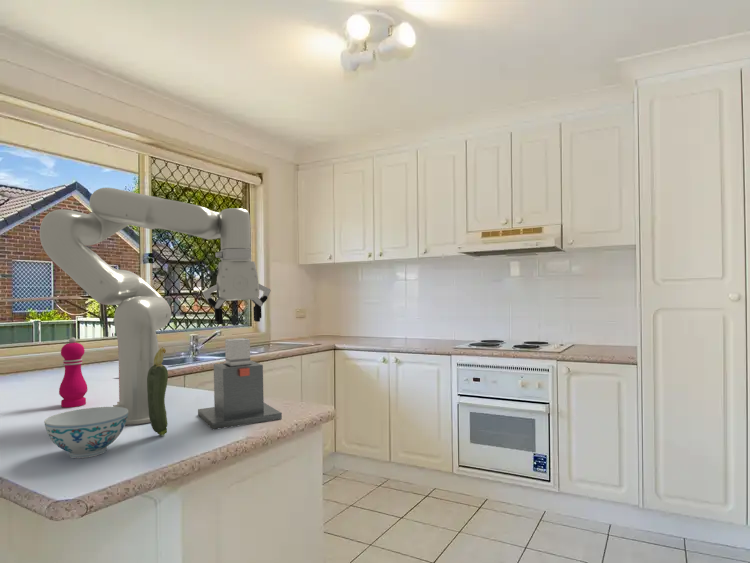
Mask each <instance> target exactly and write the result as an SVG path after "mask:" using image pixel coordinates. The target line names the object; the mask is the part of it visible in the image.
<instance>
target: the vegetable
mask: <svg viewBox="0 0 750 563" xmlns="http://www.w3.org/2000/svg"><path fill="white" fill-rule="evenodd" d="M164 354H166V349H165V347H161V348H159V350H158V353H156V355H155V358H154V365H153V366H152V367H151V368H150V369H149V371H148V376H147V393H148V408H149V418H150V422H149V423H150V425H151V429H152V430H153V431H154V432H155V433H157V435H158V436H165V435H166V434H167V433H168V428H167V427H168V418H167V415H166V414H167V410H166V403H165V401H166V400H165V398H166V397H165V396H166V391H167V386H168V379H169V373H168V372H169V371H168V369H167V367H166V366H165V365H164V364H162V363H164Z"/></svg>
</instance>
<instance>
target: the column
mask: <svg viewBox="0 0 750 563" xmlns="http://www.w3.org/2000/svg"><path fill="white" fill-rule="evenodd" d="M250 343H251V339H249V338H246V337H239V338H226V339H224V347H225V348H224V349H225V358H224V359H225V363H226V364H225V365H226V366H228V367H235V366H246V365H251V364H250V361H251V344H250Z"/></svg>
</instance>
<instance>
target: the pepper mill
mask: <svg viewBox="0 0 750 563" xmlns="http://www.w3.org/2000/svg"><path fill="white" fill-rule="evenodd" d="M76 341H77V339H76V337H75V336H74V337H70V338H69V340H68V342H69V343H66V344H64V345H63V346H62V347H61V349H60V355H61V357H62V358H63V360H62V363H63V364H62V365H64V375H63V379H62V380H61V382H60V385H59V388H58V394H59V396H60V397H61V398H62V399H61V401H60V404H61V405H60V406H61V408H77V407H81V406H85V405H86V403H87V398H86V397H85V395H86V394H87V392H88V389H89V388H88V385H87V382H86V380H85V378H84V376H83V373H82V364H83V356H84V354H85V346H84V345H83V344H81V343H79V342H76Z"/></svg>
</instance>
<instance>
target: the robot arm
mask: <svg viewBox="0 0 750 563" xmlns="http://www.w3.org/2000/svg"><path fill="white" fill-rule="evenodd" d="M89 207H90V209H91V212H89V213H84V212H81V211H76V210H72V209H63V208H62V209H61V208H60V209H55V210H52V211H50V212H48V213H47V214H46V215H45V216H44V217H43V219H42V221H41V224H40V225H39V226H40V227H39V240H40V244H41V245H42V246H41V247H42V249H43V250H44V252H45V253H46V255H47V256H48V258H49V259H50V260H51V261H53V262H54V264H55V265H56V266H58V267H59V268H60V269H61V270H62V271H63V272H64V273H65V274H66V275H68V276H69V277H70V278H71V279H72V280H73V281H74V282H75V283H76V285H78V286H79V287H80V288H81V289H82V290H83V291H84V292H86V293H87V294H88V295H89V296H90V297H91V298H92V299H93V300H94V301H95V302H97V303H99V304H101V305H104V306H105V305H106V306H117V307H116V309H115V312H114V314H113V315H114V316H113V320H114V322H113V324H114V328H115V333H116V339H117V350H118V351H117V352H118V353H117V355H118V358H117V359H118V396H119V397H118V398H119V401H117V402H116V403H117V404H113V406H112V407H122V408H126V409H128V417H127V421H126V424H125V426H130V425H131V426H132V425H133V426H134V425H142V424H148V423H151V422H150V418H149V408H148V393H147V376H148V371H149V369H150V368H151V367H152V366H153V365H154V358H155V355H156V353H158V350H160V348H159V346H160V345H159V340H158V336H157V331H158V330H161V329H163V328H164V327H166V326H167V325H169V323H170V321H171V318H172V309H171V307H170V304H169V303H168V301H167V300H166V299H165V298H164V297H163V296H162V295H161V294H160V293H159V292H157V290H155V288H153V287H152V286H151V285H150V284H148V282H146V281H145V280H144V279H143V278H142V277H141V276H140V275H138V274H136V273H134V272H133V271H130V270H128V269H118V268H114V267H112V266H111V265H110V264H108V263H107V262H106V261H105V260H104V259H102V257H100V256H99V254H97V253H96V252H95V251H93V250H92V249H90V248H89V247H88V246H94V245H97V244H99V243H102V242H103V241H106V239H109V238H110V237H111V236H114V235H115V234H116V233H119V232H120V231H121V230H124V229H125V228H127V227H129V226H133V227H139V228H141V229H142V228H143V229H148V230H156V229H160V230H165V231H166V230H167V231H172V232H176V233H180V234H185V235H190V236H194V237H198V238H201V239H204V240H217V239H220V250H219V251H217V252H215V258H219V259H220V261H219V262H218V265H217V271H216V272H217V275H216V284H215V285H213V286H211V287H209V288H207V289H206V290H204V291H202V295H203V297H204V298H205V300H206V302H207V303H208V304H209V305H210V306H211V307H212V308H213V309H214V321H215V322H216V324H217V325H222V324H223V323H224V321H223V308H222V307H221V306H222V305H223V304H224V302H225V301H244V300H245V301H248V300H251V301H252V303H253V304H254V306H253V307H252V309H253V321H254V322H258V323H259V322H261V319H262V317H263V316H262V306H263V305H264V303H265V302H267V301H268V297H269V295H270V293H271V289H270V288H268V287H267V286H264V285H262V284H260V283H259V276H258V271H257V265H256V262H255V261H253V260H252V239H251V238H252V236H251V216H250V212H249V211H248V210H247V209H245V208H244V209H243V208H238V207H236V208H235V207H234V208H233V207H231V208H224V209H222V210H221V211H214V210H211V209H209V208H207V207H204V206H201V205H198V204H192V203H187V202H184V201H179V200H173V199H168V198H162V197H158V196H153V195H148V194H143V193H138V192H133V191H128V190H124V189H123V190H122V189H118V188H114V187H101V188H98V189H96V190H94V191H93V193H92V194H91V195H90V197H89ZM260 291H261V292H262V296H261V297H260V298H259V296H260ZM215 292H216V297H217V299H216V301H215V299H214V298H212V296H211V294H212V293H215ZM166 416H167V413H166Z"/></svg>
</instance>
